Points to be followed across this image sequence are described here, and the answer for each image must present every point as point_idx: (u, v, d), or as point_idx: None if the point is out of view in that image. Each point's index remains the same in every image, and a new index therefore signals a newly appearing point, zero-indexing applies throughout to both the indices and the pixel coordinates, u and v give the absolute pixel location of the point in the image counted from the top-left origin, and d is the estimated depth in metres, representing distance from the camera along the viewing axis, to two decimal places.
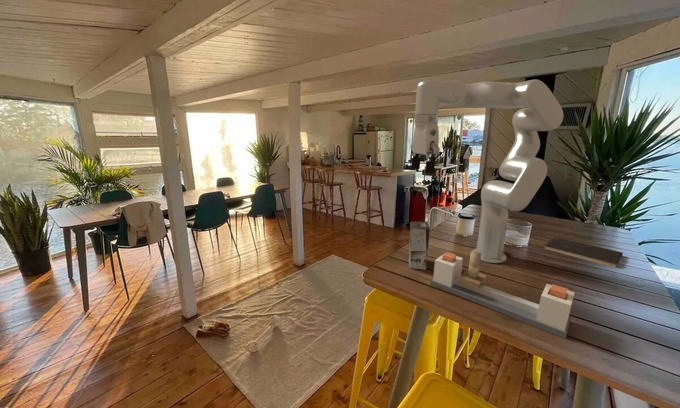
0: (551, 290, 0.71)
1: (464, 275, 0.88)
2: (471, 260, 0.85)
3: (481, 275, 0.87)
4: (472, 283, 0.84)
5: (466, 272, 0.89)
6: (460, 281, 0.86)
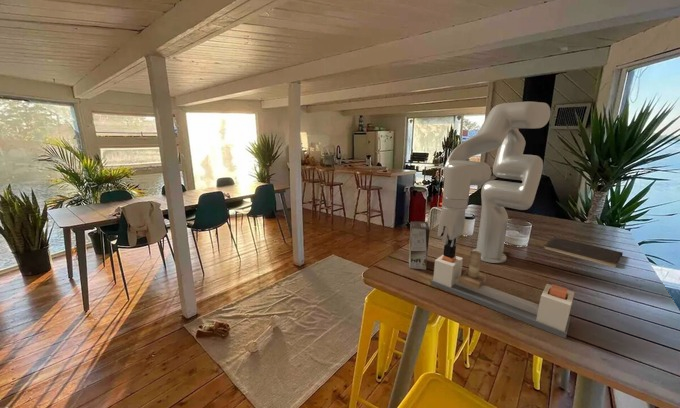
0: (551, 290, 0.71)
1: (464, 275, 0.88)
2: (471, 260, 0.85)
3: (481, 275, 0.87)
4: (472, 283, 0.84)
5: (466, 272, 0.89)
6: (460, 281, 0.86)
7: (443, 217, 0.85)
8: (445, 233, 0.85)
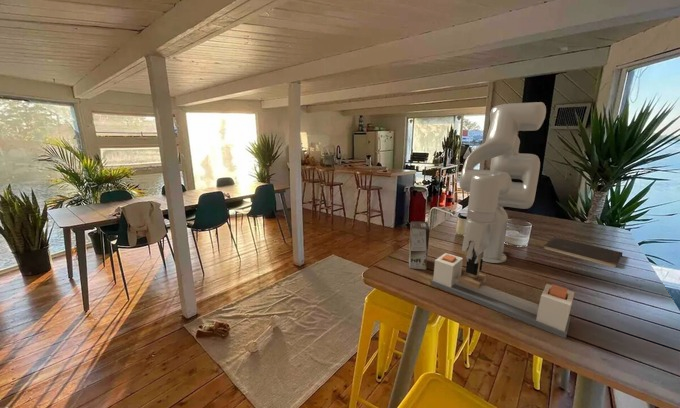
0: (551, 290, 0.71)
1: (464, 275, 0.88)
2: None
3: (481, 275, 0.87)
4: (472, 283, 0.84)
5: (466, 272, 0.89)
6: (460, 281, 0.86)
7: (469, 231, 0.80)
8: (470, 248, 0.80)
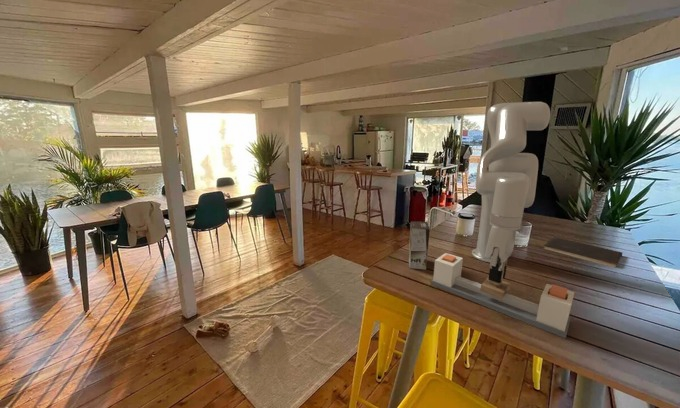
0: (551, 290, 0.71)
1: (486, 282, 0.83)
2: None
3: (504, 283, 0.83)
4: (496, 291, 0.79)
5: (488, 279, 0.85)
6: (482, 289, 0.82)
7: (493, 237, 0.76)
8: (495, 254, 0.76)
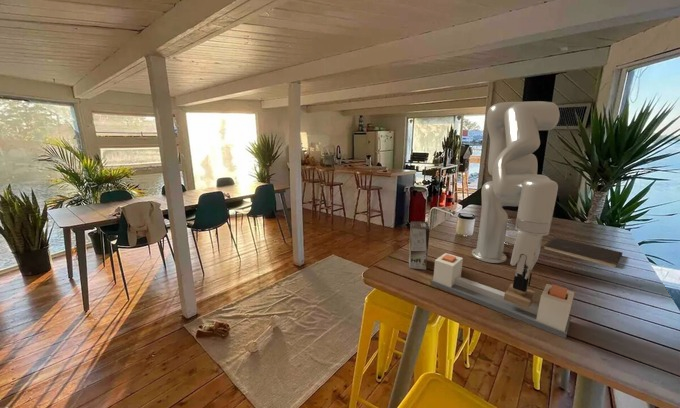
0: (551, 290, 0.71)
1: (510, 290, 0.79)
2: None
3: (529, 291, 0.79)
4: (522, 300, 0.75)
5: (511, 287, 0.80)
6: (506, 298, 0.78)
7: (520, 243, 0.71)
8: (521, 262, 0.72)
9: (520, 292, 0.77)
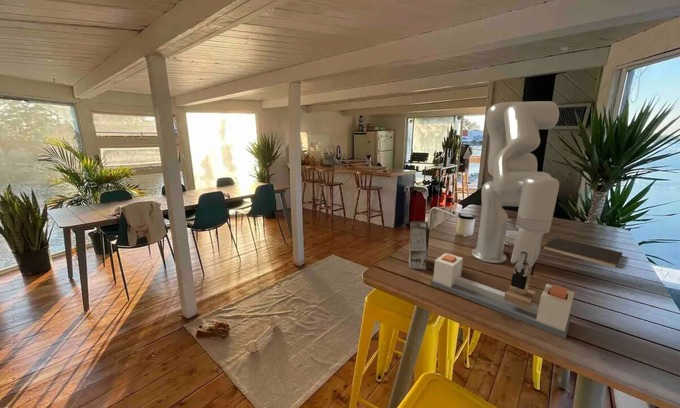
0: (551, 290, 0.71)
1: (510, 291, 0.79)
2: None
3: (529, 291, 0.78)
4: (522, 301, 0.75)
5: (511, 287, 0.80)
6: (506, 298, 0.78)
7: (521, 241, 0.71)
8: (522, 256, 0.71)
9: (520, 292, 0.77)
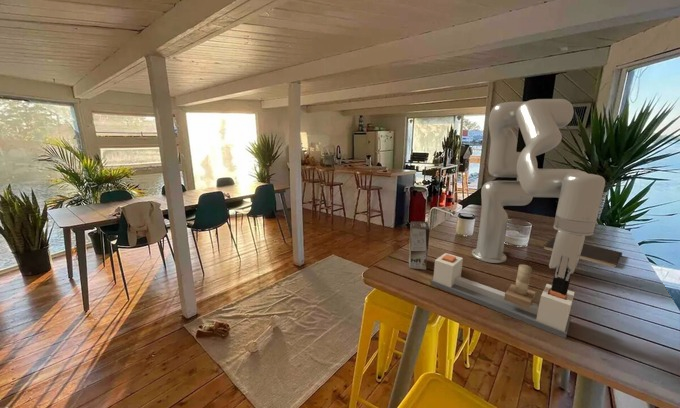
0: (550, 292, 0.71)
1: (510, 291, 0.79)
2: (520, 275, 0.76)
3: (529, 291, 0.78)
4: (522, 301, 0.75)
5: (511, 287, 0.80)
6: (506, 298, 0.78)
7: (561, 244, 0.65)
8: (563, 265, 0.66)
9: (520, 292, 0.77)
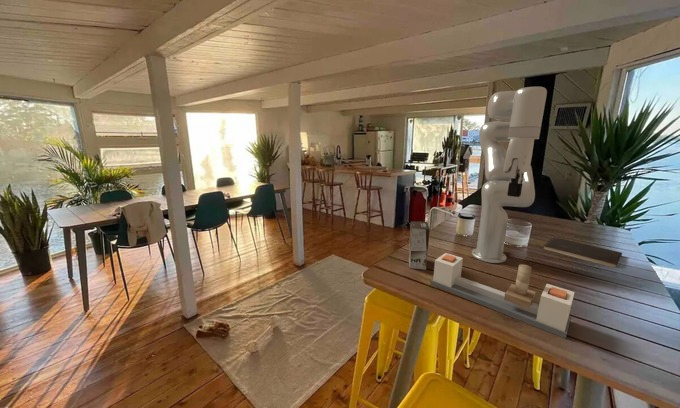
0: (550, 293, 0.71)
1: (510, 291, 0.79)
2: (520, 275, 0.76)
3: (529, 291, 0.78)
4: (522, 301, 0.75)
5: (511, 287, 0.80)
6: (506, 298, 0.78)
7: (512, 148, 0.77)
8: (514, 167, 0.78)
9: (520, 292, 0.77)
